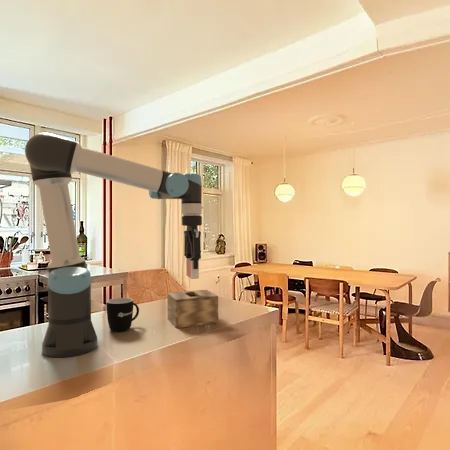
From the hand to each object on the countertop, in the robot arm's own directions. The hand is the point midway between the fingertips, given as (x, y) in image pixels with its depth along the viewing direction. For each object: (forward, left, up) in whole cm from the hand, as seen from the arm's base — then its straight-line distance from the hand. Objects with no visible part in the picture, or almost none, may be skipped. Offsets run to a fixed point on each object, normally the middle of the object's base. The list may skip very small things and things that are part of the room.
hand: (192, 276), depth 135 cm
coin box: (0, 0, -17) cm, 17 cm away
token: (0, 0, 0) cm, 0 cm away
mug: (-25, 0, -17) cm, 30 cm away
